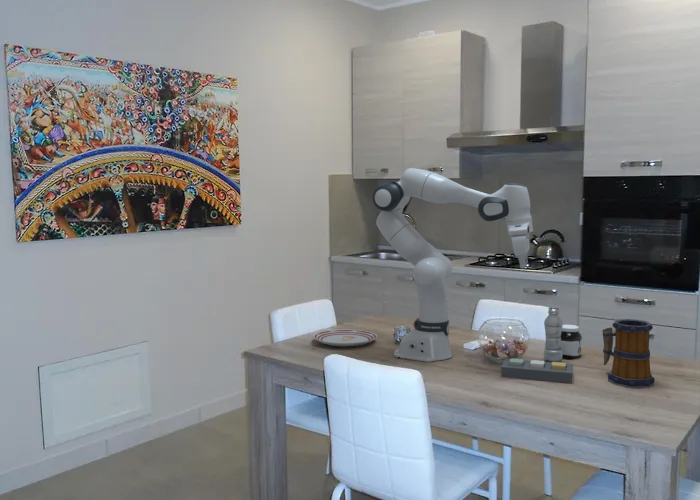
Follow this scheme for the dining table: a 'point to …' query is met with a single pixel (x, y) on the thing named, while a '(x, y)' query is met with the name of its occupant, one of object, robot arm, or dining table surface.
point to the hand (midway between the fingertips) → (524, 266)
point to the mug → (629, 353)
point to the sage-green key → (516, 362)
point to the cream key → (537, 364)
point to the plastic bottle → (553, 336)
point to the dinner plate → (336, 335)
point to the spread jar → (571, 341)
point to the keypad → (537, 372)
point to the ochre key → (559, 365)
